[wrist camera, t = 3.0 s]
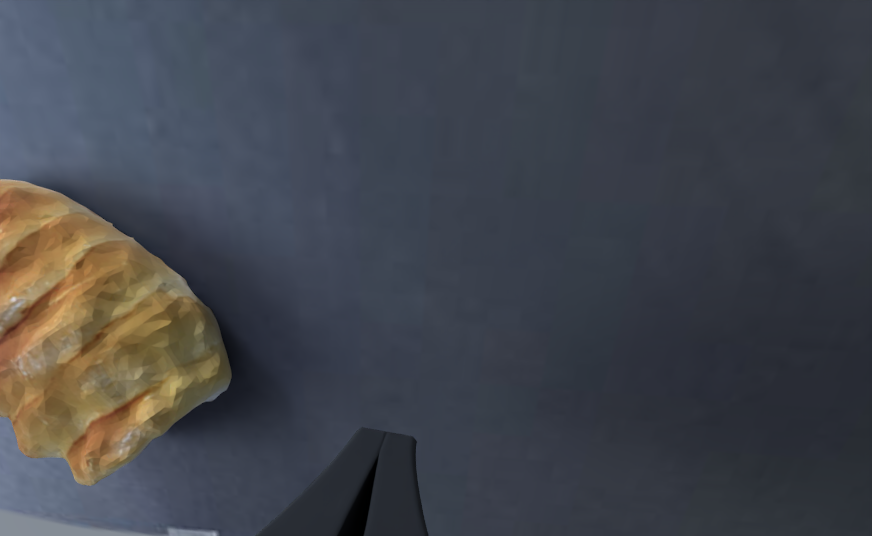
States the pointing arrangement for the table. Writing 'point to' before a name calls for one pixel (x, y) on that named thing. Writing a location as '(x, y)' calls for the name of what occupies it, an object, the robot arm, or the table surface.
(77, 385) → the pastry
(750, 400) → the table surface
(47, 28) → the table surface
